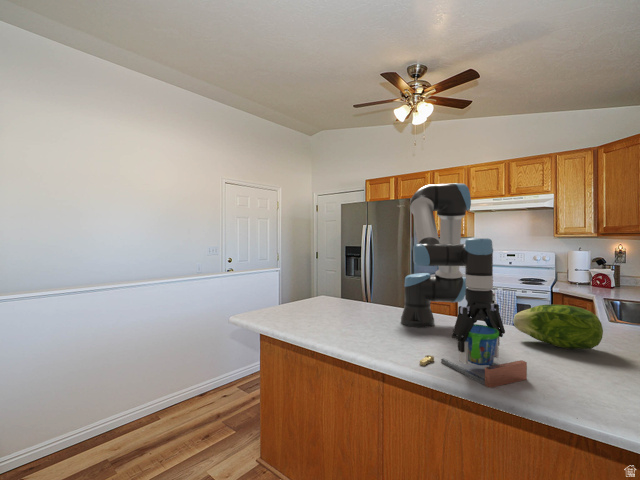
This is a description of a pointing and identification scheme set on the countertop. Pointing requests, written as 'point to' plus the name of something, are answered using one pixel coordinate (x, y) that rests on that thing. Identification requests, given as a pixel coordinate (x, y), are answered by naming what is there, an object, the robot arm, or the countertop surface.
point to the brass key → (427, 360)
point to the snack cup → (482, 344)
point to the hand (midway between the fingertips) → (479, 359)
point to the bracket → (496, 373)
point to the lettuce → (561, 326)
